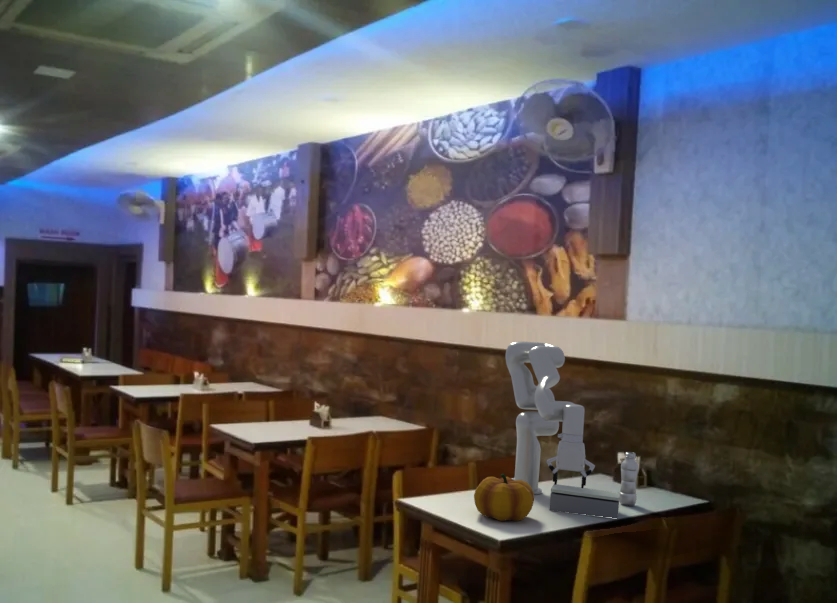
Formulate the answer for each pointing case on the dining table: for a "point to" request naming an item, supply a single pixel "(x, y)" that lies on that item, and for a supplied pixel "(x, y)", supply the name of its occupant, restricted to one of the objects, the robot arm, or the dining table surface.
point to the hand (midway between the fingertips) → (569, 485)
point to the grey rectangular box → (583, 505)
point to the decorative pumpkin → (504, 498)
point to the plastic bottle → (628, 479)
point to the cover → (585, 492)
